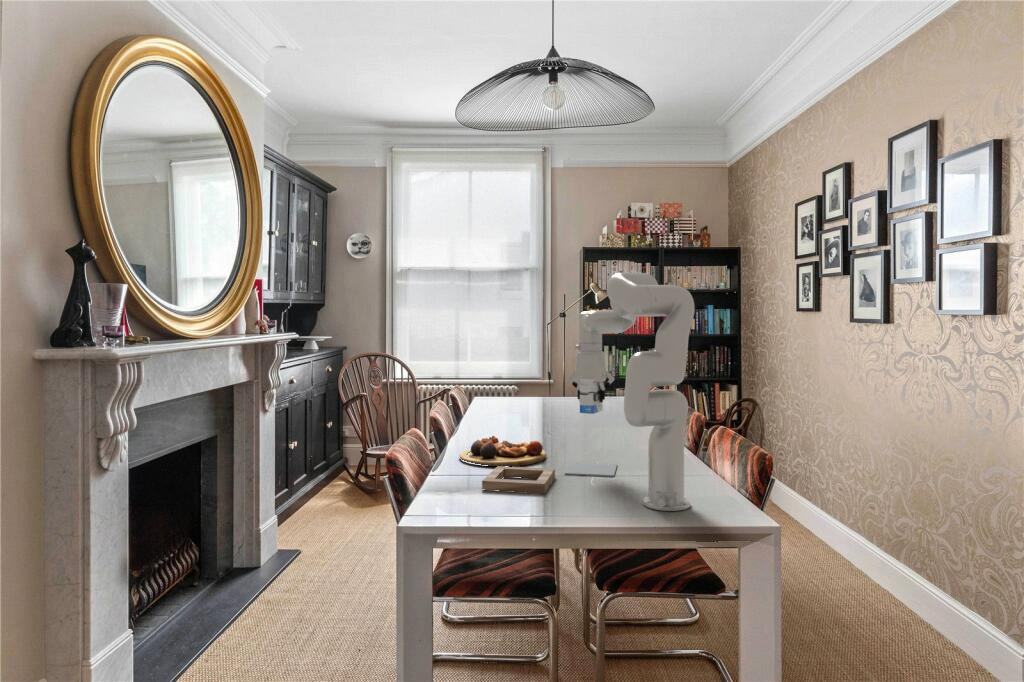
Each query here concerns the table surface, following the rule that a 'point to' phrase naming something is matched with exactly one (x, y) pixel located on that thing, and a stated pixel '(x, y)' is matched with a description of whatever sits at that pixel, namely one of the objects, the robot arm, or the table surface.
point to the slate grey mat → (591, 469)
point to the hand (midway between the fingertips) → (591, 401)
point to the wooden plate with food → (503, 453)
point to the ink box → (590, 396)
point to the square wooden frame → (539, 486)
